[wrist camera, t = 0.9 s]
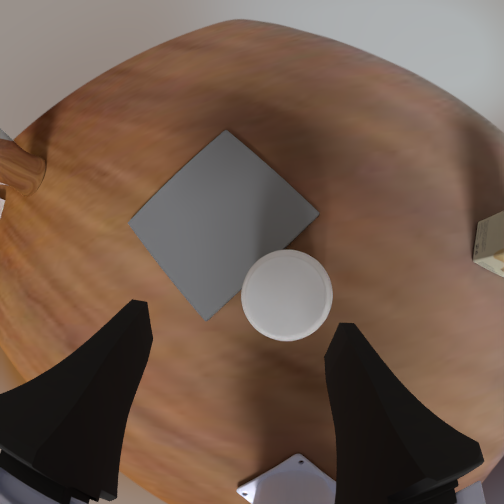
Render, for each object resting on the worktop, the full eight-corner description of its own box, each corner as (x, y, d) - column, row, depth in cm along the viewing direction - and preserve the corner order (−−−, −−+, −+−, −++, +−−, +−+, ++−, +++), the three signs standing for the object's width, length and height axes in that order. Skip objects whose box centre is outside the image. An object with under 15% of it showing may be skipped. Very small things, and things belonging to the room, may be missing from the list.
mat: (319, 215, 23) (319, 213, 23) (207, 320, 23) (205, 321, 23) (227, 132, 26) (225, 129, 25) (130, 224, 26) (127, 222, 25)
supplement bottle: (243, 306, 23) (209, 312, 14) (277, 249, 24) (266, 218, 14) (299, 339, 22) (303, 370, 13) (333, 282, 23) (361, 273, 13)
